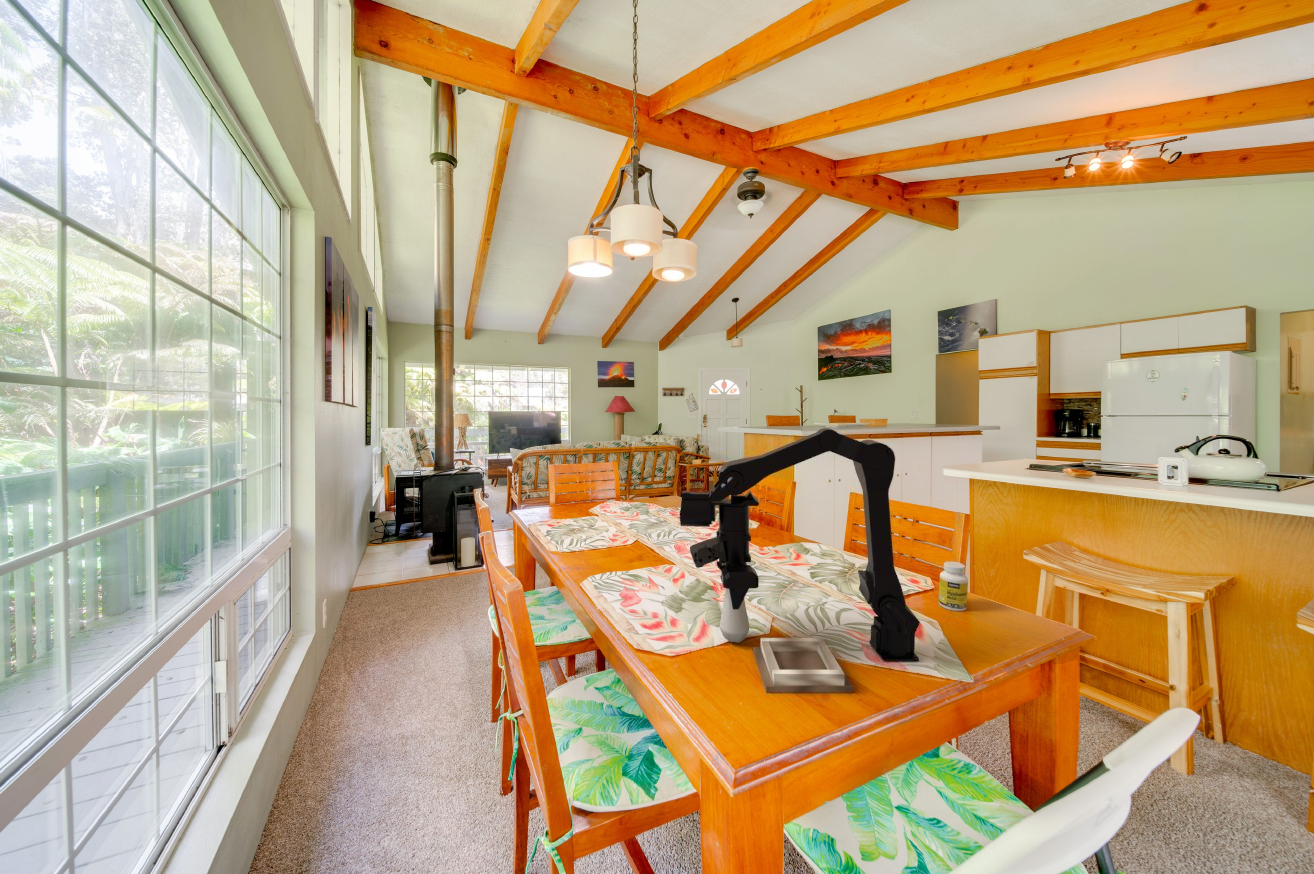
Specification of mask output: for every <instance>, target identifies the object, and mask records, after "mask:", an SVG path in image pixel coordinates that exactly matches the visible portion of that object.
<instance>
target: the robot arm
mask: <svg viewBox="0 0 1314 874" xmlns="http://www.w3.org/2000/svg"><path fill="white" fill-rule="evenodd" d="M829 452H831V453H834V454H836V455H838V456H841V457H843V458H846V459H849V460H851V461H852V462H853V463H852V464H853V465H854V470H855V474H856V476H857V479H858V481H859V484H860V487H861V490H862V499H863V512H864V513H863V514H864V515H863V516H864V524H865V527H864V528H865V538H866V553H867V564H866V565H867V566H866V567H865V569H863V570H861V569H859V570H857V573H858V577H859V587H858V590H859V592H860V594H861V595H862V597H863V598H864V601H865V602H866V603H867V604H868V605H869V606H870V608H871V609H872V611H873V613H874V614H875V615H874V616H873V624H871V625H870V640H869V641H868V643H869V645H870V646H871V647H872V649H873V650H874V651H875V652H876V654H877V655H878V656H879V658H880V659H881V660H882V661H884V662H919V661H920V658H919V656H918V655H917V654H916V653H915V649H916V648H915V645H916V644H915V643H916V641H915V640H916V632H917V630H918V629H919V626H920V624H921V623H920V620H919V618H917V616H916V615H915V614H914V612H913V611H912V610H911V609H910V607H909V606H908V605H907V603H906V600H905V599H906V598H905V595H904V591H903V588H902V585H901V582H900V580H899V577H898V575H897V571H896V569H895V562H894V553H893V552H894V549H893V547H894V546H893V535H892V523H891V522H892V521H891V520H892V519H891V512H890V511H891V510H890V497H889V496H890V495H889V493H890V488H891V484H892V482H893V480H894V475H895V466H896V465H895V464H896V455H895V452H894V450H893V449H892V448H891V447H890V446H888V445H887V444H885V443H883V442H879V441H876V440H874V439H864V440H861V441H860V440H857V439H855V438H852V437H849V436H847V435H844V434H841V433H839V432H837V431H836V430H834V429H832V428H828V427H824V428H820V429H819V430H818V431H816V432H814V433H812V434H809V435H807V436H804V437H802V438H799V439H797V440H794V441H792V442H790V443H788V444H784V445H782V446H780V447H778V448H776V449H773V450H770V451H768V452H765V453H763V454H760V455H757V456H748V457H742V458H739V459H734V460H729V461H727V462H725V463H723V465H722V466H721V468H720V470H719V473H718V476H717V477H718V479H717V481H716V482H715V483H714V485H713V486H711V488H710V492H709V491H692V490H691V491H690V490H683V491H682V492H681V501H680V509H679V524H680V527H695V528H696V527H697V528H698V527H701V528H702V527H703V528H710V526H711V525H712V523H713V522H714V523H715V522H716V517H717V515H716V514H717V513H716V512H717V511H716V509H717V506H718V528H717V530H716V536H715V537H712V538H709V539H705V540H703V541H700V542H697V543H694V544H692V545H690V546H689V552H690V555H691V558H692V561H693V563H694V565H695V568H697V569H700V568H703V567H705V565H708V564H710V563H713V562H716V561H717V562H716V566H717V568H718V570H720V580H721V584H722V587H723V589H726V588H727V589H729V592H730V597H731V602H732V607H733V610H734V609H739V608H740V606H741V604H742V602H743V600H745V597H746V596H747V593H748V591H749V589H758V588H759V587H760V586H759V579H760V578H759V575H758V573H757V571H756V569H755V568H754V567H753V566H752V565H750V564H748V563H752V556H751V554H750V542H751V541H752V535H751V533H750V507H758V506H759V505H760V502H759V498H757V497H756V496H755V495H754V494H753V492H752V491H751V490H750V489H752V488H753V487H755V486H756V485H757V484H759V483H760V482H762V480H764V479H766V478H767V477H769V476H771V475H772V474H775V473H777V472H780V471H782V470H785V469H788V468H790V467H793V466H795V465H798V464H800V463H803V462H806V461H808V460H810V459H812V458H815V457H817V456H820V455H823V454H826V453H829ZM749 490H750V491H749ZM745 492H747V493H746V494H744V493H745ZM742 494H743V495H742ZM729 496H730V498H727V497H729Z"/></svg>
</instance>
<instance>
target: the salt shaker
mask: <svg viewBox="0 0 1314 874" xmlns="http://www.w3.org/2000/svg"><path fill="white" fill-rule="evenodd" d="M722 603H723V604H722V608H721V609H722V610H721V615H720V622H719V629H720V632H721V634H722V636H723V638H724V639H725V640H727V641H728V642H731V643H741V642H742V641H745V639H746V638H747V635H748V633H749V631H750V621H749V617H748V612H747V606H746V602H745V599H744V600H743V602H742V604H741V606H740V608H739V609H734V610H733V607H732V602H731V597H730V592H729V589H727V588H725V592H724V598H723V602H722Z"/></svg>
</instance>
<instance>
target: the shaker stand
mask: <svg viewBox="0 0 1314 874" xmlns="http://www.w3.org/2000/svg"><path fill="white" fill-rule="evenodd" d="M752 649H753V650H752V651H753V652H752V653H753V656H754V658H755V661H756V664H757V665H756V666H757V668H758V671H759V674H760V677H761V682H762V684H763V687H764V689H765V693H766V694H767V693H769V694H771V693H773V694H774V693H775V694H776V693H778V694H779V693H780V694H781V693H784V694H785V693H790V694H791V693H793V694H794V693H804V694H805V693H806V694H807V693H816V694H817V693H818V694H819V693H822V694H823V693H826V694H831V693H833V694H837V693H838V694H839V693H840V694H842V693H843V694H844V693H845V694H848V693H850V694H851V693H852V694H853V693H854V685H853V684H852V683H851V681H850V679H849V678H848V676H847V674H846V673H845V671H844V669H842V667H841V665H840V664H839V662H838V660H837V659H836V657H835V656H834V654H833V652H832V651H831V648H830V647H828V645H827V643H826V642H825V640H824V639H823V637H760V646H758V647H757V646H754V647H753V648H752Z"/></svg>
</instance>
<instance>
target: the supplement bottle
mask: <svg viewBox="0 0 1314 874" xmlns="http://www.w3.org/2000/svg"><path fill="white" fill-rule="evenodd" d="M965 572H966V566H965V565H964V564H963V563H960V562H957V561H945V562H944V563H943V571H941V572H940V574H939V582H938V583H939V586H938V589H939V590H938V605H939V606H940V607H942V608H944V609H946V610H949V611H953V612H963V611H966V609H967V604H968V588H969V578H968V576H967V575H966V574H965Z"/></svg>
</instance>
